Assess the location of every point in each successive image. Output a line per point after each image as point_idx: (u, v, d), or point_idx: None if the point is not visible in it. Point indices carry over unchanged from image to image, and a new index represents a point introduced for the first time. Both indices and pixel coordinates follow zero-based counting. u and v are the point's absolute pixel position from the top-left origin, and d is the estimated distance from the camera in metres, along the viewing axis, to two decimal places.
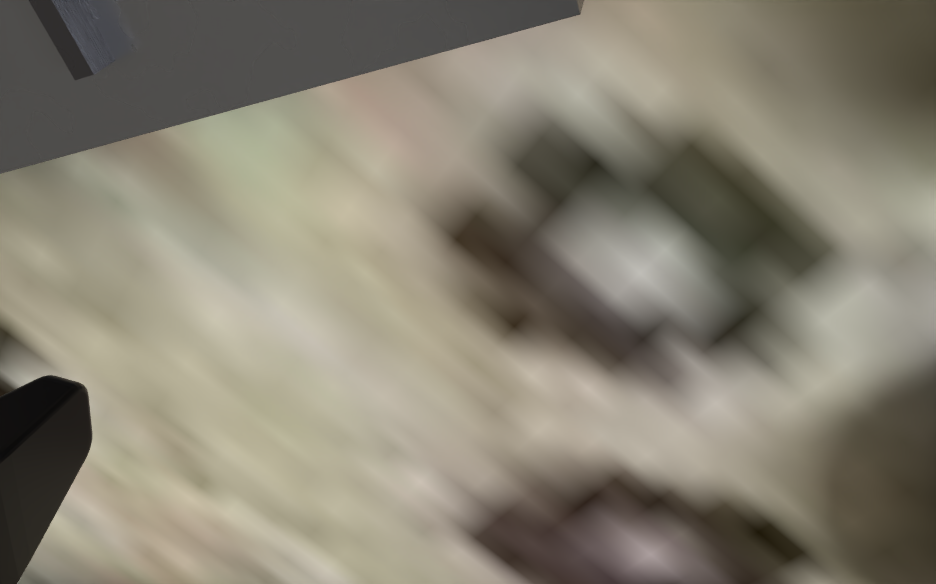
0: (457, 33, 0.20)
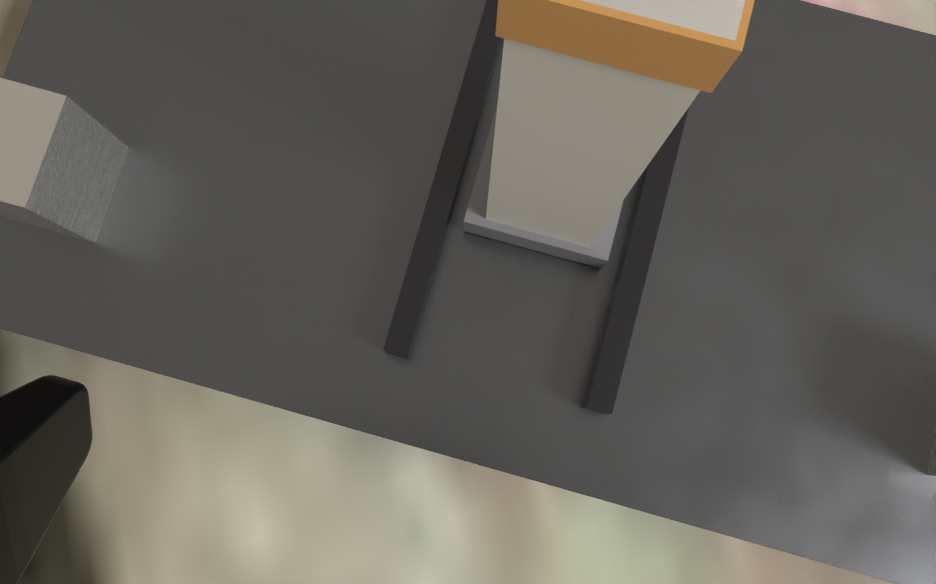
0: None
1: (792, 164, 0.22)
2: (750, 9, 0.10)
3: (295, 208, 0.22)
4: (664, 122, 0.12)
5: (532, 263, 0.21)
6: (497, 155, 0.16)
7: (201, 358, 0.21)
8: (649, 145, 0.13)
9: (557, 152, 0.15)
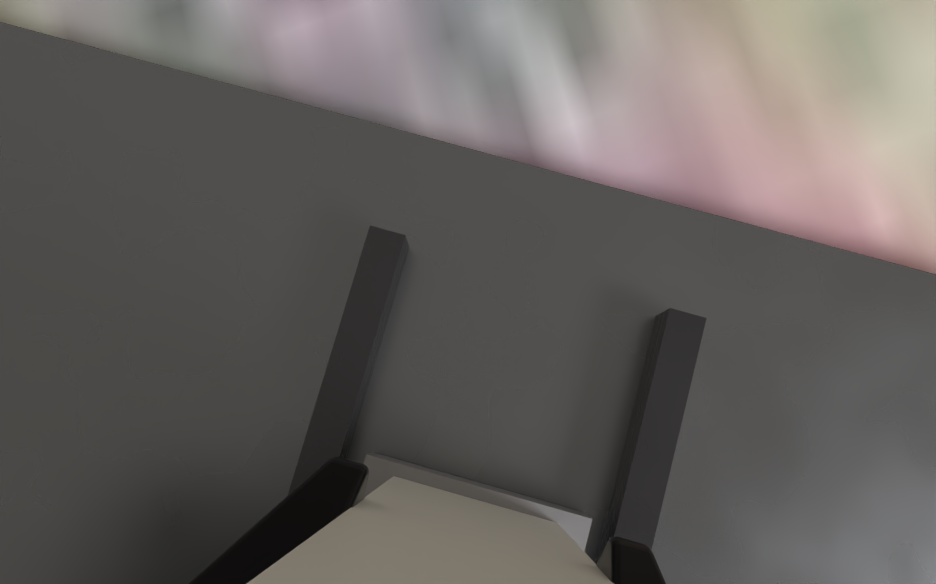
0: None
1: (837, 520, 0.14)
2: None
3: None
4: None
5: None
6: None
7: None
8: None
9: None
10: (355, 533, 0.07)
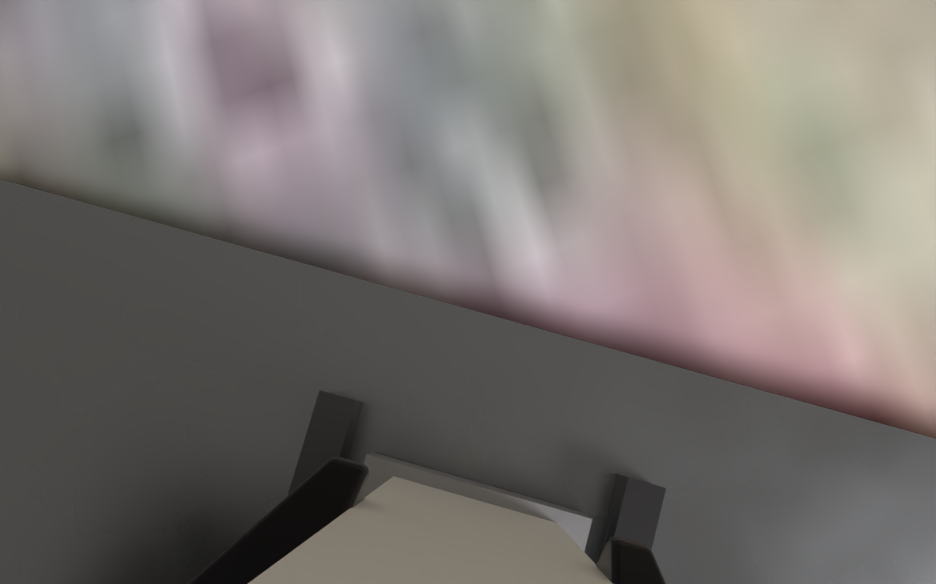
0: None
1: None
2: None
3: None
4: None
5: None
6: None
7: None
8: None
9: None
10: (354, 534, 0.07)
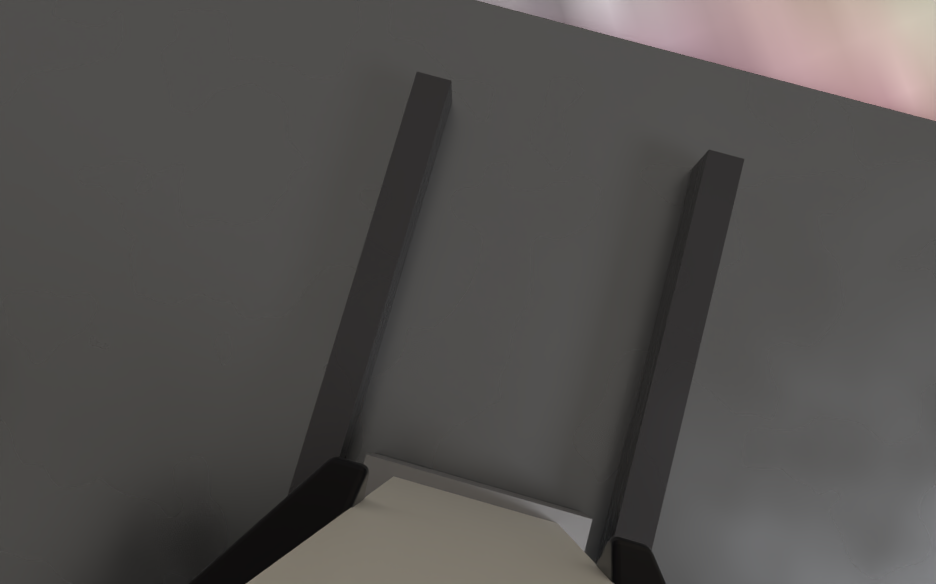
0: None
1: (870, 360, 0.14)
2: None
3: (113, 431, 0.14)
4: None
5: None
6: None
7: None
8: None
9: None
10: (355, 533, 0.07)
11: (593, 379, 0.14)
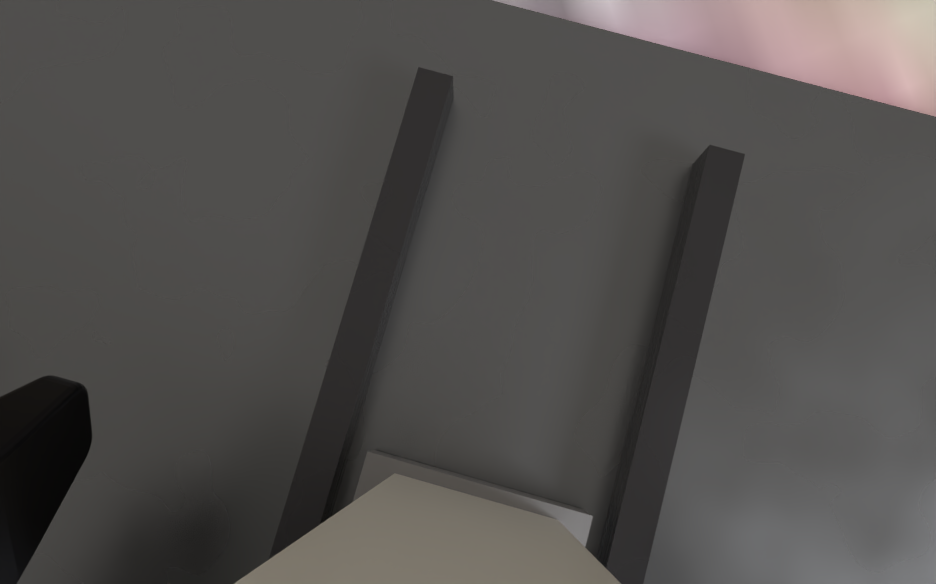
0: None
1: (871, 355, 0.14)
2: None
3: (115, 425, 0.14)
4: None
5: None
6: None
7: None
8: None
9: None
10: (357, 526, 0.07)
11: (594, 374, 0.14)
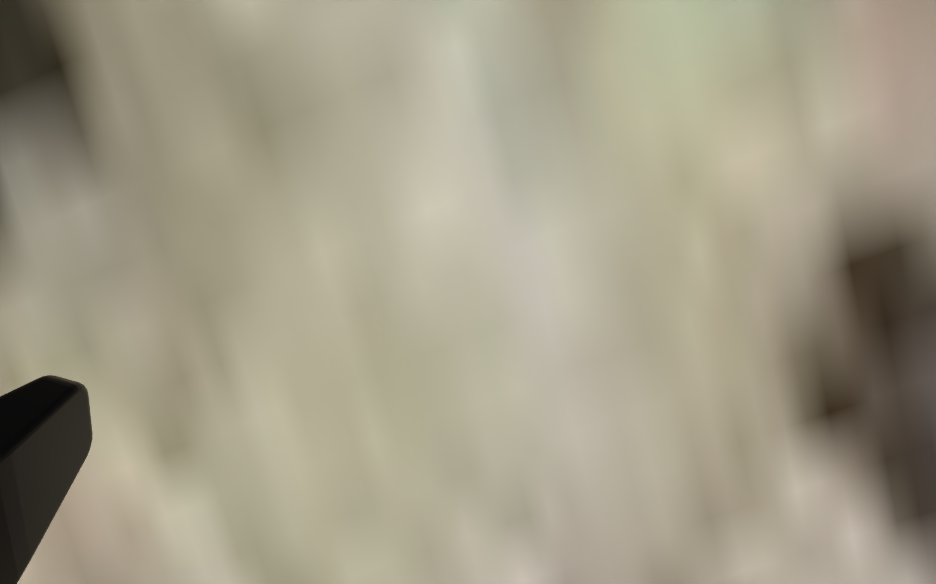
0: None
1: None
2: None
3: None
4: None
5: None
6: None
7: None
8: None
9: None
10: None
11: None
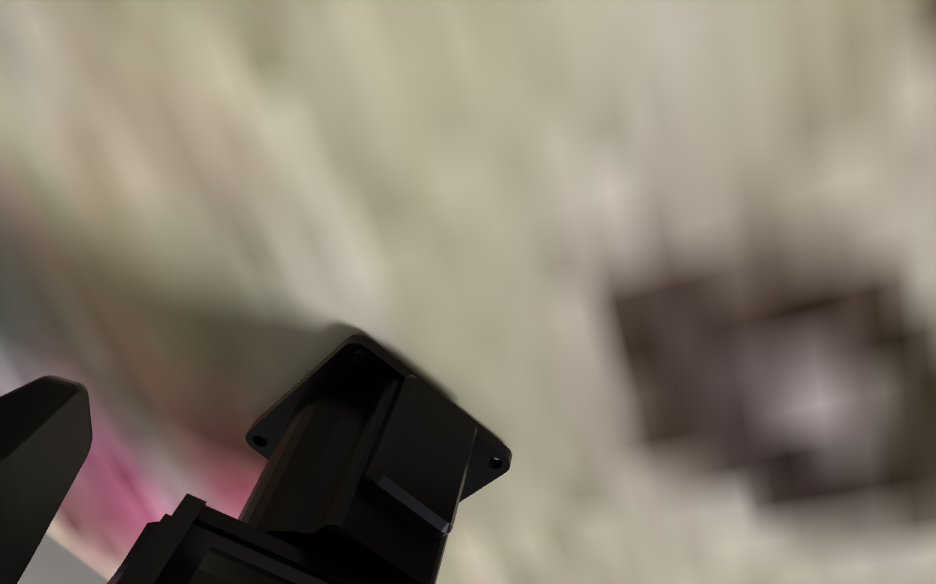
0: None
1: None
2: None
3: None
4: None
5: None
6: None
7: None
8: None
9: None
10: None
11: None
